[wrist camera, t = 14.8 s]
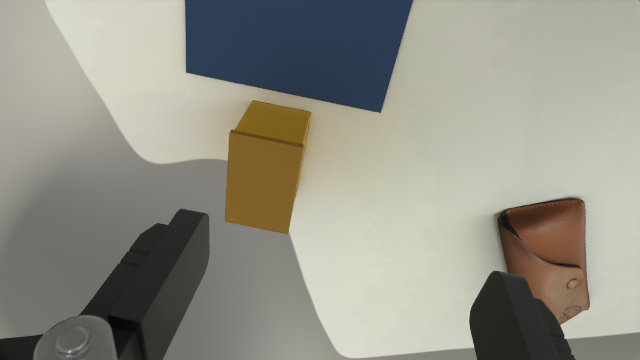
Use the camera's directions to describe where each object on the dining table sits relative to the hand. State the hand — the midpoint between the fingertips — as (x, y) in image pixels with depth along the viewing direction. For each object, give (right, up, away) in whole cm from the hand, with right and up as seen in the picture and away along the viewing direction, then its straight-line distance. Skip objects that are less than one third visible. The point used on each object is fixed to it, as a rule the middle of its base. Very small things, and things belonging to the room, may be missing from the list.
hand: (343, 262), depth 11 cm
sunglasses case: (+25, -7, +33) cm, 42 cm away
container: (-5, +6, +28) cm, 29 cm away
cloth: (-3, +16, +21) cm, 27 cm away
